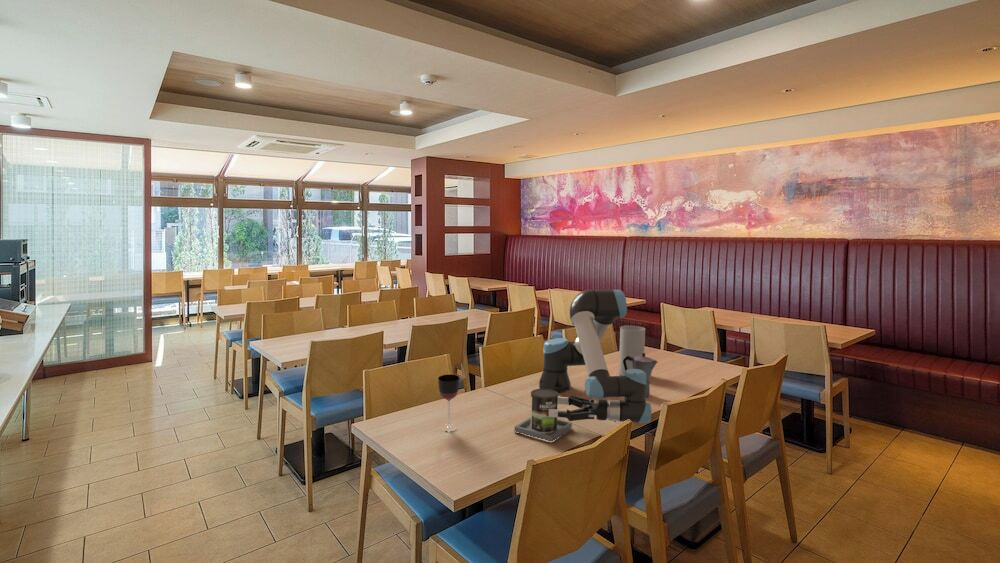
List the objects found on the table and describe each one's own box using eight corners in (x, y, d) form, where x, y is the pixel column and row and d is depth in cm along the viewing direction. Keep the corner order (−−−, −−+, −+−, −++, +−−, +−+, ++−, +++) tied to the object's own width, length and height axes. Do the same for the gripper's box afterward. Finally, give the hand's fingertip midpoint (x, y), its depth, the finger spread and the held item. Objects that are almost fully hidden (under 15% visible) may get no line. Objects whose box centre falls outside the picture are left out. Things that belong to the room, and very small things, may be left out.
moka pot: (657, 399, 228) (659, 356, 226) (622, 397, 231) (623, 354, 229) (655, 393, 237) (656, 351, 235) (621, 390, 240) (622, 349, 238)
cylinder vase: (628, 370, 274) (630, 324, 271) (648, 375, 264) (650, 328, 261) (613, 374, 266) (615, 327, 263) (633, 380, 256) (635, 331, 253)
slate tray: (514, 432, 191) (514, 426, 191) (535, 419, 204) (536, 413, 204) (551, 443, 182) (551, 437, 182) (571, 428, 195) (571, 422, 195)
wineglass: (459, 423, 200) (459, 374, 197) (458, 432, 191) (458, 381, 189) (439, 423, 199) (439, 374, 197) (437, 432, 191) (437, 381, 188)
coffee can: (561, 432, 190) (562, 396, 188) (535, 435, 187) (536, 398, 185) (551, 422, 199) (551, 387, 198) (526, 424, 197) (527, 389, 195)
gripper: (608, 433, 176) (547, 428, 180) (606, 407, 200) (552, 404, 204) (609, 412, 175) (547, 408, 179) (606, 389, 199) (552, 386, 203)
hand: (550, 406), depth 191 cm, fingers open, 13 cm apart
